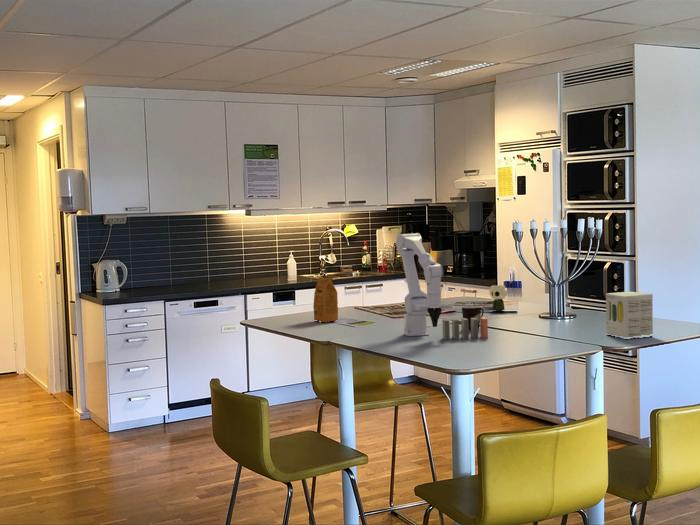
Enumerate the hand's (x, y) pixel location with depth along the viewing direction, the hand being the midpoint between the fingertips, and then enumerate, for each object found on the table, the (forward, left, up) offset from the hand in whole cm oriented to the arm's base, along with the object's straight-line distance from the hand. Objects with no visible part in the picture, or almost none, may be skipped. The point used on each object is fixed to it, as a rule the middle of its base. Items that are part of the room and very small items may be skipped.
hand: (434, 326), depth 346 cm
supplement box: (+77, -15, -6) cm, 78 cm away
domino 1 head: (+5, 0, -5) cm, 7 cm away
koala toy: (+49, +77, -6) cm, 91 cm away
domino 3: (+17, 0, -6) cm, 18 cm away
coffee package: (-40, +68, -6) cm, 79 cm away
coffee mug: (+23, +23, -6) cm, 33 cm away
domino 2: (+13, 0, -6) cm, 14 cm away
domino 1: (+9, 0, -5) cm, 10 cm away
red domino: (+21, 0, -5) cm, 21 cm away
